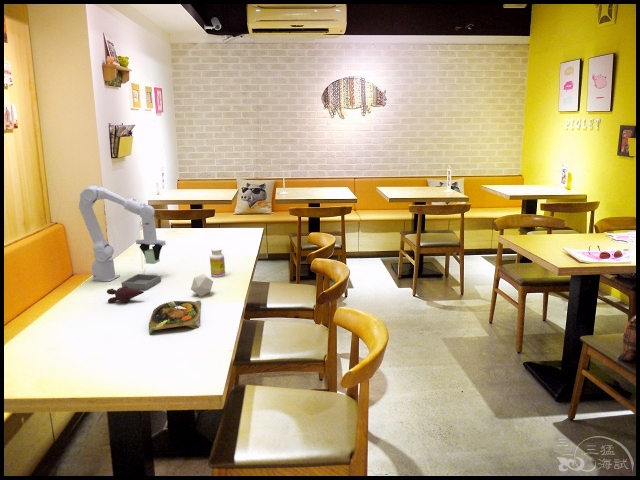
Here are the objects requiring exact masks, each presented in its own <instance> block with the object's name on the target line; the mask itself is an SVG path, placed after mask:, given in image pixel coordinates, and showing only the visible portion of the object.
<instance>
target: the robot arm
mask: <svg viewBox="0 0 640 480" xmlns="http://www.w3.org/2000/svg"><path fill="white" fill-rule="evenodd" d="M79 197H80V198H79V202H78V209H79V211H80V213H81V216H82V219H83V221H84V223H85V226H86V229H87V231H88V233H89V236H90V238H91V241H92V243H93V251H94V252H93V253H94V254H93V256H94V257H93V258H94V261H92V264H91V272H92V279H91V280H92V281H97V282H111V281H113V280H115V279H118V278H120V275H117V274H116V271H115V262H114V257H113V255H114V252H115V251H114V247H112V245H111V244H110V242H109V241H108V240H107V239H106V238H105V235H104V233H103V231H102V228H101V226H100V223H99V220H98V218H97V215H96V213H95V210H94V209H93V207H94V205H95V203H96V201H98V200H108V201H111V202H113V203H116V204H118V205H120V206H123V207H124V210H126V211H128V212H131V213H132V214H135V215H137V216H139V217H140V219H141V222H142V223H141V225H142V234H143V235H142V236H143V239H136V240H135V244H136V245H139V248H138V249H140V250H141V252H142V254H143V255H144V257H145V251H146V250H148V249H150V246H151V245H152V246H151V249H153V251H154V255H155V260H158V259H160V255H161V252H162V248H163V246H166V240H161V239H158V238H157V230H156V227H157V226H156V221H155V214H156V211H155V210H156V209H155V208H154V207H153V206H152V205H151V204H147V203H143V202H140V201H138V200H137V199H136V198H135V197H133V198H132V197H130V198H125V197H123V196H121V195H119V194H117V193H115V192H113V191H112V190H109V189H107V188H105V187H104V186H103V187H102V186H100V185H98V184H92V185H90V186H88V187H85V188H83V189H82V191H81V192H80V194H79Z"/></svg>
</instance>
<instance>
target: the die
mask: <svg viewBox="0 0 640 480" xmlns="http://www.w3.org/2000/svg"><path fill="white" fill-rule="evenodd" d="M213 285H214V280H212V279H211V278H210V277H208V276H207V275H205V274H204V273H203V274H200V275H197V276H195V277H193V279H192V284H191V287H190V291H192V292H193V293H195V294H197V295H198V296H199V297H204V296H205V295H208V294H210V293H211V291H212V288H213Z"/></svg>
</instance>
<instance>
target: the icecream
mask: <svg viewBox="0 0 640 480" xmlns="http://www.w3.org/2000/svg"><path fill="white" fill-rule="evenodd" d="M106 293H107V295H114V296H113V297H110V298H108V300H107V303H109V304H113V303H116V302H117V301H118V302H120V303H129V302H130V300H132V299H134V298H135V297H137V296H139V295H142V294H144V293H145V290H135V289H131V288H128V287H127V286H123V287H122V286H121V287H118V288H117V289H114V288H109V289H107V291H106Z"/></svg>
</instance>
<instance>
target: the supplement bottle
mask: <svg viewBox="0 0 640 480" xmlns="http://www.w3.org/2000/svg"><path fill="white" fill-rule="evenodd" d="M222 251H223V250H222V247H213V248H212V249H211V254H210V255H209V264H210V275H211V276H212V277H214V278H220V277H223V276H225V275H226V265H225V264H226V263H225V255H224V253H222Z"/></svg>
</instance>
